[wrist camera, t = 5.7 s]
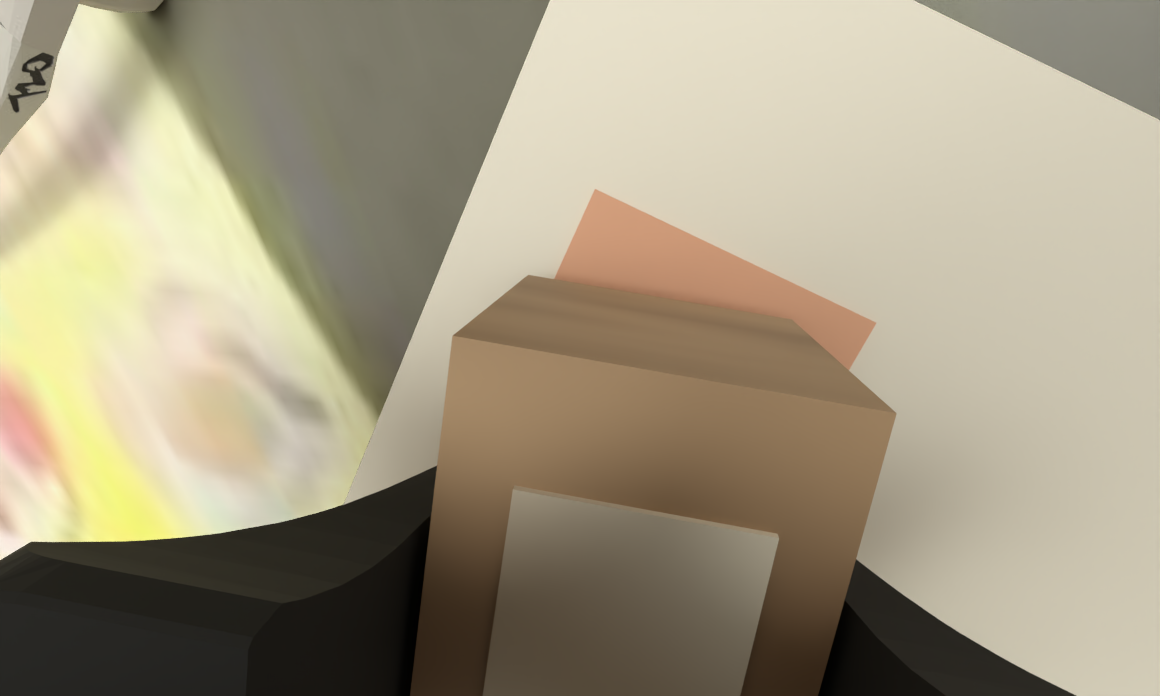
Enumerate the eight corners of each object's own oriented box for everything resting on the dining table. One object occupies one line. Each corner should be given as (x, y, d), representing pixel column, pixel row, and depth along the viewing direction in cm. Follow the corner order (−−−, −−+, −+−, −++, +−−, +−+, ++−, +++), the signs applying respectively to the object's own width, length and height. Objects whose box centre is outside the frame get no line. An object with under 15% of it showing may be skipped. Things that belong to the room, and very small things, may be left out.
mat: (1460, 280, 13) (1505, 285, 12) (997, 862, 16) (1012, 891, 16) (611, -132, 12) (609, -150, 12) (329, 554, 16) (315, 571, 15)
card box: (698, 718, 14) (730, 1019, 9) (471, 674, 14) (379, 944, 9) (791, 319, 12) (900, 416, 7) (528, 274, 12) (450, 338, 7)
